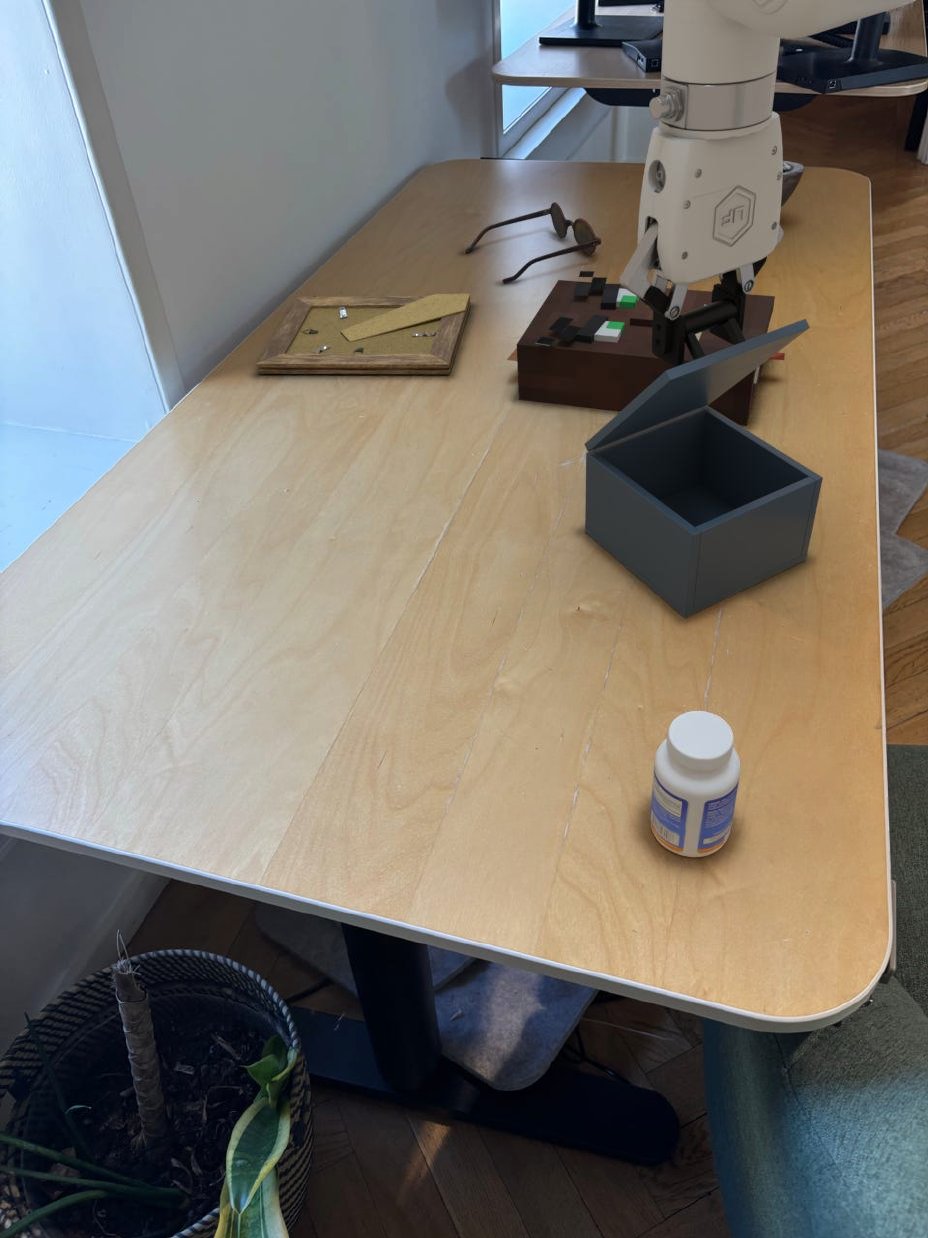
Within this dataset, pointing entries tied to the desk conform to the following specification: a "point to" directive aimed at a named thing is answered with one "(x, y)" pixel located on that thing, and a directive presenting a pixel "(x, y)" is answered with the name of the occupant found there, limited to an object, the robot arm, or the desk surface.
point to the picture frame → (368, 335)
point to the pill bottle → (695, 785)
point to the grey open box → (699, 508)
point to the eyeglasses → (580, 228)
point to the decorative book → (617, 348)
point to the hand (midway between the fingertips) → (696, 346)
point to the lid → (698, 372)
